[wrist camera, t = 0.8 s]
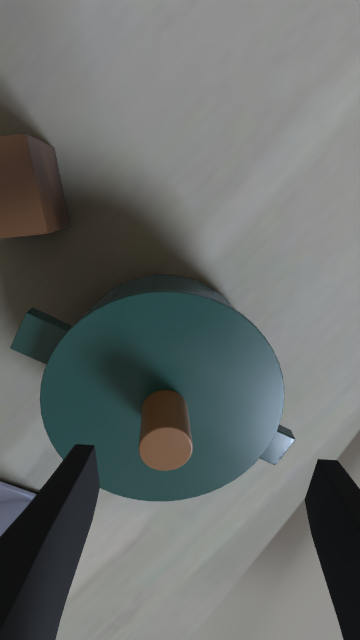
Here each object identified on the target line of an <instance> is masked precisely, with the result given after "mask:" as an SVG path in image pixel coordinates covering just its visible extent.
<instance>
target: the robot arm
mask: <svg viewBox="0 0 360 640" xmlns="http://www.w3.org/2000/svg"><path fill="white" fill-rule="evenodd" d="M99 488H100V482H99V474H98V467H97V459H96V451H95V445H85V444H76V445H74V446H73V447H72V449H71V450H70V452H69V453H68V454H67V456H66V457H65V459H64V460H63V461H62V463H61V464H60V465H59V467H58V468H57V469H56V471H55V472H54V473H53V475H52V476H51V477H50V478H49V480H48V481H47V482H46V484H45V485H44V486H43V487H42V488H41V490H40V491H39V492H38V493H37V494H35V493H32V492H29V491H26V490H23V489H20V488H18V487H15V486H12V485H9V484H6V483H3V482H0V640H55V639H56V635H57V631H58V627H59V623H60V619H61V616H62V612H63V609H64V605H65V602H66V599H67V596H68V593H69V590H70V587H71V584H72V581H73V578H74V575H75V572H76V569H77V566H78V562H79V559H80V556H81V553H82V550H83V547H84V544H85V541H86V538H87V535H88V532H89V529H90V526H91V523H92V520H93V515H94V511H95V507H96V502H97V497H98V493H99ZM305 504H306V509H307V514H308V520H309V524H310V529H311V534H312V537H313V541H314V544H315V548H316V550H317V554H318V557H319V560H320V564H321V567H322V570H323V573H324V576H325V580H326V583H327V586H328V589H329V593H330V596H331V599H332V602H333V605H334V608H335V612H336V615H337V618H338V621H339V625H340V629H341V632H342V636H343V639H344V640H360V489H359V487H358V486H357V485H356V484H355V482H354V481H353V480H352V478H351V477H350V476H349V475H348V473H347V472H346V471H345V469H344V468H343V467H342V466H341V464H340V463H339V462H338V461H337V460H322V459H318V461H317V464H316V467H315V470H314V473H313V476H312V479H311V482H310V485H309V488H308V491H307V494H306V497H305Z"/></svg>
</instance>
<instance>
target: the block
mask: <svg viewBox="0 0 360 640" xmlns="http://www.w3.org/2000/svg"><path fill="white" fill-rule="evenodd" d="M68 227H70V225H69V220H68V215H67V210H66V205H65V200H64V195H63V190H62V185H61V179H60V174H59V169H58V164H57V159H56V154H55V149H54V147H52V146H49V145H47V144H45V143H43V142H41V141H39V140H37V139H35V138H33V137H31V136H29V135H27V134H25V133H22V134H12V135H1V136H0V238H10V237H20V236H30V235H39V234H48V233H51V232H54V231H58V230H61V229H65V228H68Z"/></svg>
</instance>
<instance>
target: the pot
mask: <svg viewBox="0 0 360 640" xmlns="http://www.w3.org/2000/svg"><path fill="white" fill-rule="evenodd" d="M158 289H169V290H182V291H188V292H194V293H198V294H202V295H205V296H208V297H211V298H214V299H216V300H218V301H220V302H223V303H225V304H227V305H229V306H230V307H232V306H231V304H230V303H229V302H228V300H227V299H226V298H225V297H224V296H223V295H221V294H219V293H218V292H216V291H215V290H213V289H212V288H210V287H208V286H207V285H204V284H202V283H200V282H198V281H196V280H194V279H191V278H186V277H180V276H175V275H152V276H146V277H141V278H137V279H134V280H131V281H128V282H126V283H124V284H120V285H118V286H117V287H115V288H114V289H113V290H111V291H110V292H108V293H107V294H106V295H104V296H103V297H102V298H101V299H100V300H99V301H98V302H97V303H96V304H94V305H93V306H92V307H91V308H90V309H89V311H88V312H87V313H89V312H90V311H92V310H93V309H94V308H96V307H98V306H100V305H102V304H104V303H106V302H108V301H110V300H113V299H115V298H118V297H121V296H124V295H127V294H131V293H136V292H140V291H146V290H158ZM232 308H233V307H232ZM233 309H234V308H233ZM71 327H72V326H71V325H69V324H67V323H65V322H62V321H60V320H58V319H56V318H54V317H52V316H50V315H48V314H46V313H44V312H41V311H39V310H37V309H35V308H31V309H30V310H29V311H28V312H26V314H25V316H24V318H23V320H22V323H21V325H20V327H19V329H18V332H17V334H16V336H15V338H14V341H13V343H12V345H11V349H13V350H15V351H17V352H20V353H22V354H24V355H27V356H29V357H31V358H33V359H36V360H38V361H40V362H42V363H45V364H47V363H48V360H49V358H50V356H51V354H52V352H53V351H54V349H55V347H56V346H57V344H58V342H59V341H60V340H61V339H62V337H63V336H64V335H65V334H66V332H67V331H68V330H69V329H70V328H71ZM294 441H295V437H294V436H293V434H292V432H291V430H289V429H287V428H285V427H283V426H281V425H279V426H278V429H277V431H276V433H275V435H274V437H273V439H272V441H271V443H270V444H269V446H268V447H267V449H266V450H265V452H264V453H263V454H262V456H261V457H260V459H263V460H265V461H267V462H269V463H272V464H274V465H275V464H276V463H277V462H278V461H279V460H280V458H281V457H282V456H283V455H284V453H285V452H286V451H287V450H288V448H289V447H290V446H291V445H292V443H293V442H294Z"/></svg>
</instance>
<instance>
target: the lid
mask: <svg viewBox="0 0 360 640" xmlns="http://www.w3.org/2000/svg"><path fill="white" fill-rule="evenodd" d="M40 405H41V415H42V419H43V423H44V427H45V429H46V432H47V434H48V436H49V439H50V441H51V443H52V444H53V446H54V448H55V449H56V451H57V452H58V454H59V455H60V456H61V457H62V459H63V460H64V459H65V457H66V456H67V454H68V453H69V452H70V450H71V449H72V447H73V446H74V445H76V444H85V445H95V451H96V459H97V467H98V474H99V482H100V488H101V489H104V490H106V491H108V492H111V493H113V494H117V495H120V496H123V497H127V498H132V499H137V500H145V501H175V500H183V499H188V498H192V497H197V496H200V495H203V494H206V493H209V492H211V491H214V490H216V489H218V488H221V487H223V486H224V485H226V484H228V483H230V482H232V481H233V480H235V479H236V478H238V477H239V476H240V475H242V474H243V473H245V472H246V471H247V470H248V469H249V468H250V467H251V466H252V465H253V464H255V462H256V461H257V460H258V459H259V458H260V457H261V456H262V454H263V453H264V452H265V450H266V449H267V447H268V446H269V444H270V443H271V441H272V439H273V437H274V435H275V433H276V431H277V429H278V426H279V423H280V420H281V417H282V411H283V406H284V383H283V376H282V372H281V368H280V365H279V362H278V360H277V358H276V355H275V353H274V351H273V349H272V348H271V346H270V344H269V343H268V341H267V340H266V338H265V337H264V336H263V334H262V333H261V332H260V331H259V330H258V329H257V327H256V326H255V325H254V324H253V323H252V322H251V321H249V320H248V319H247V318H246V317H245V316H244V315H242V314H241V313H240V312H238V311H237V310H235V309H233V308H232V307H230V306H229V305H227V304H225V303H223V302H220V301H218V300H216V299H214V298H211V297H208V296H205V295H202V294H198V293H194V292H188V291H182V290H169V289H158V290H146V291H140V292H136V293H131V294H127V295H124V296H121V297H118V298H115V299H113V300H110V301H108V302H106V303H104V304H102V305H100V306H98V307H96V308H94V309H93V310H92V311H90V312H89V313H87V314H86V315H84V316H83V317H82V318H80V319H79V320H78V321H77V322H76V323H75V324H74V325H73V326H72V327H71V328H70V329H69V330H68V331H67V332H66V334H65V335H64V336H63V337H62V339H61V340H60V341H59V342H58V344H57V346H56V347H55V349H54V351H53V352H52V354H51V356H50V358H49V360H48V363H47V365H46V368H45V370H44V374H43V378H42V383H41V392H40Z"/></svg>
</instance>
